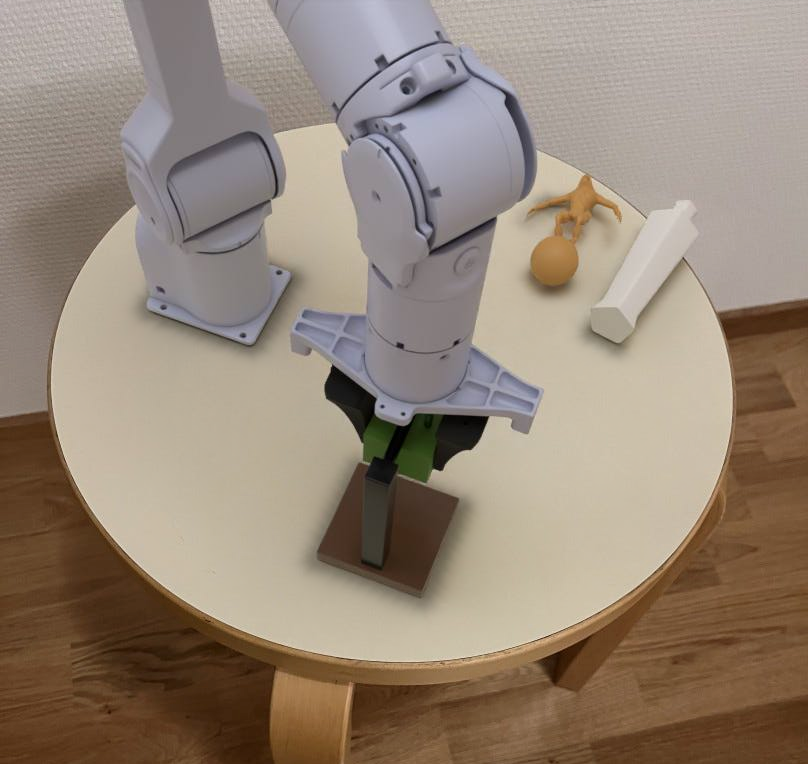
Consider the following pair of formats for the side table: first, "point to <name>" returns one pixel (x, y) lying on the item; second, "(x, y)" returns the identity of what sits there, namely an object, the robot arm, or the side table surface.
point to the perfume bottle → (645, 269)
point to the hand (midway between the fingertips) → (406, 444)
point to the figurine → (558, 254)
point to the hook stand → (388, 524)
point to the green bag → (405, 444)
